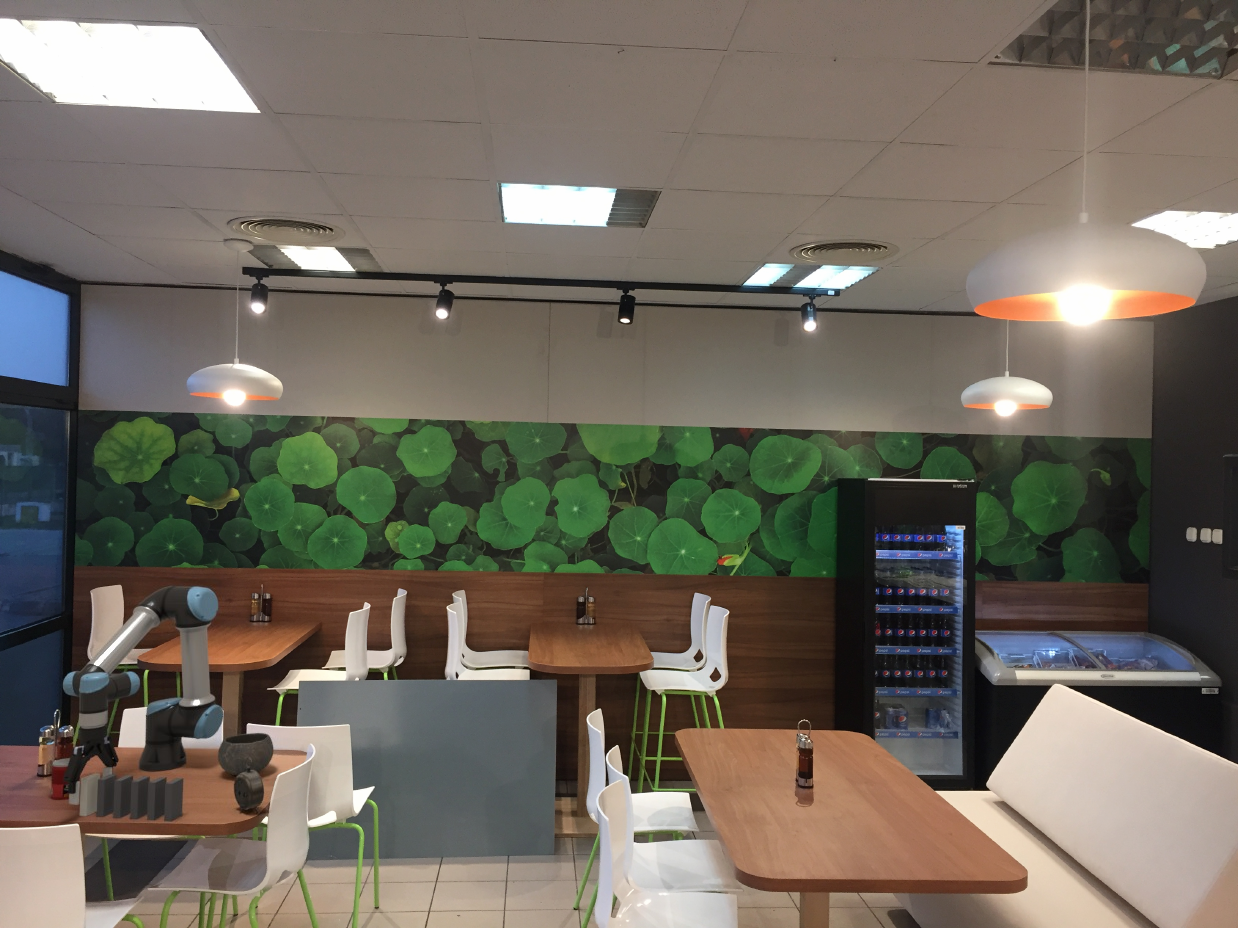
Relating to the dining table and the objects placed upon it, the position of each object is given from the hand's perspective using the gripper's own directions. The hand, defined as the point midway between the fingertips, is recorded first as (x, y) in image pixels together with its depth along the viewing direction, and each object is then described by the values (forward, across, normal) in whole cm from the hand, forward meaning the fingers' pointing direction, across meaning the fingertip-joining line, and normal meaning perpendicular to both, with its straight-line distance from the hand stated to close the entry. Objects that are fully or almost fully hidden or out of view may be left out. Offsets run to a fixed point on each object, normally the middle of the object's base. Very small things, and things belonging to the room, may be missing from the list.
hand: (90, 796), depth 264 cm
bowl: (+6, -43, +25) cm, 50 cm away
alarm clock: (+5, -8, +46) cm, 47 cm away
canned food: (+5, -12, -19) cm, 23 cm away
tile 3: (+5, 0, +11) cm, 12 cm away
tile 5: (+5, 0, +22) cm, 23 cm away
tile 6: (+5, 0, +28) cm, 28 cm away
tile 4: (+5, 0, +16) cm, 17 cm away
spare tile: (+5, 0, 0) cm, 5 cm away
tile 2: (+5, 0, +6) cm, 7 cm away
